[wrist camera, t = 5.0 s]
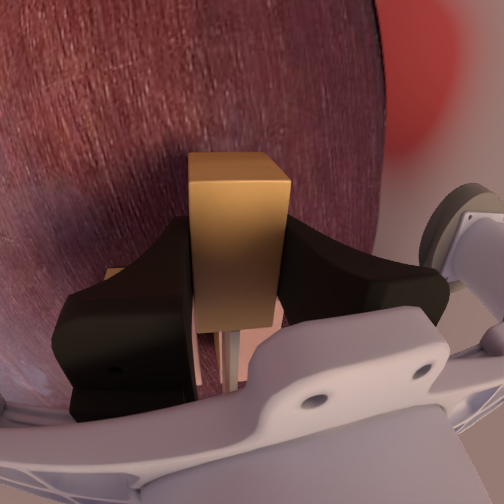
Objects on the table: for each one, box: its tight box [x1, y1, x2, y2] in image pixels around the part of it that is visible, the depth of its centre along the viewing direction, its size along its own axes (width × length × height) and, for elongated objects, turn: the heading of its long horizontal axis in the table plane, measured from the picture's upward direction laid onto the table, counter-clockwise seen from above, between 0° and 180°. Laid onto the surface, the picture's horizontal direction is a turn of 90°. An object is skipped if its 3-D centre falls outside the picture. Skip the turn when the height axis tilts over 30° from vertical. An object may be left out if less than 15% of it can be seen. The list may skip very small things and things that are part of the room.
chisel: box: [188, 152, 291, 394], centre depth 14 cm, size 15×3×4 cm, turn 177°
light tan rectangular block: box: [214, 296, 284, 383], centre depth 22 cm, size 4×8×4 cm, turn 177°
